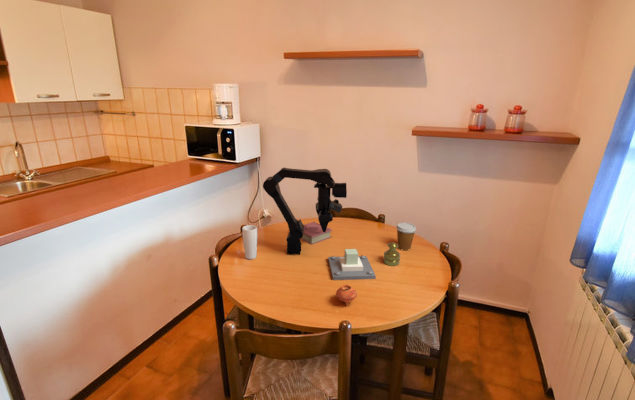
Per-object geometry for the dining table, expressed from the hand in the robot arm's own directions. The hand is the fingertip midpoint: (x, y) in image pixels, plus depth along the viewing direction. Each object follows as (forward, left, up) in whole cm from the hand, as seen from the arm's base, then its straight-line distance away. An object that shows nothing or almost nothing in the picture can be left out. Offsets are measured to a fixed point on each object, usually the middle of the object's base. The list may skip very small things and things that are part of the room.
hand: (323, 228), depth 164 cm
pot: (+5, -40, -13) cm, 43 cm away
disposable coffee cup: (+42, +4, -13) cm, 44 cm away
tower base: (+11, -16, -13) cm, 23 cm away
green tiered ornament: (+31, -11, -13) cm, 35 cm away
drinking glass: (-34, -3, -13) cm, 37 cm away
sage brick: (+11, -16, -10) cm, 22 cm away
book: (-4, +20, -14) cm, 24 cm away
